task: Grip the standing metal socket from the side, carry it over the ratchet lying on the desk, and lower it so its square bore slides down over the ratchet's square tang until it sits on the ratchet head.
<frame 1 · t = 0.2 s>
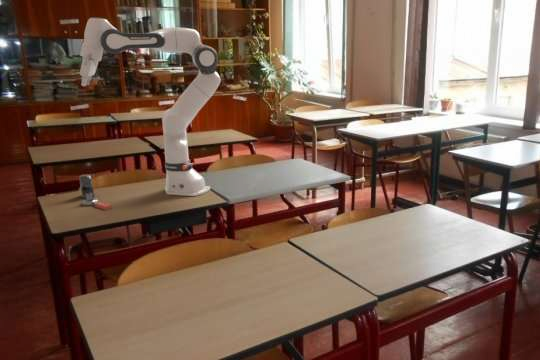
hand: (85, 85, 210), 52 cm above the table, tool tilted 20°, fingers open, 8 cm apart
ratchet: (90, 203, 214), on the table
socket: (87, 196, 225), on the table
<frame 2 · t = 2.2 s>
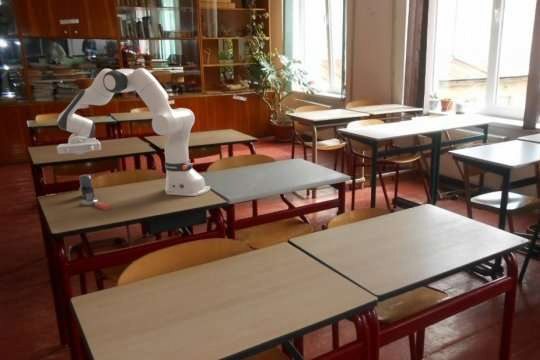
hand: (80, 150, 230), 20 cm above the table, tool horizontal, fingers open, 8 cm apart
nothing on the table moved.
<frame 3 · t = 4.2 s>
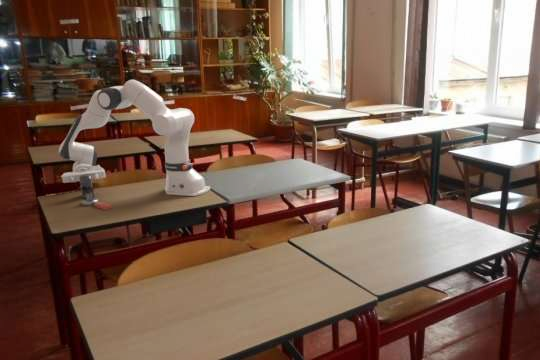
hand: (85, 179, 232), 6 cm above the table, tool horizontal, fingers open, 8 cm apart
nothing on the table moved.
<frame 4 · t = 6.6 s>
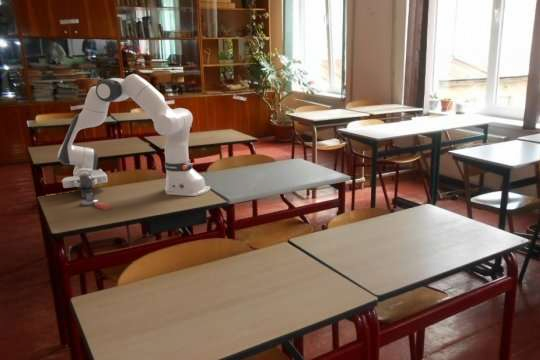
hand: (86, 184, 222), 6 cm above the table, tool horizontal, fingers closed on socket, 5 cm apart
socket: (87, 196, 225), on the table, touching gripper
everything else where it was.
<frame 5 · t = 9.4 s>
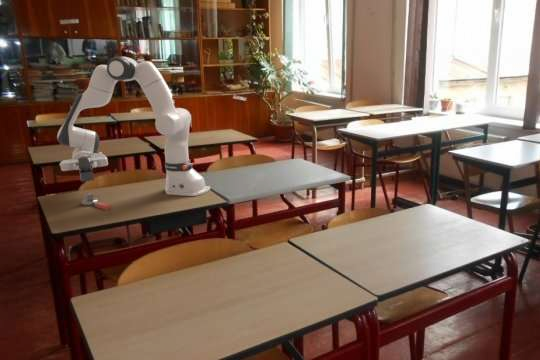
hand: (85, 167, 210), 17 cm above the table, tool horizontal, fingers closed on socket, 5 cm apart
socket: (87, 179, 213), point 11 cm above the table, touching gripper
everything else where it was.
when the fingers open (8 cm above the table, at t = 12.4 s): socket drops 1 cm, resting on ratchet.
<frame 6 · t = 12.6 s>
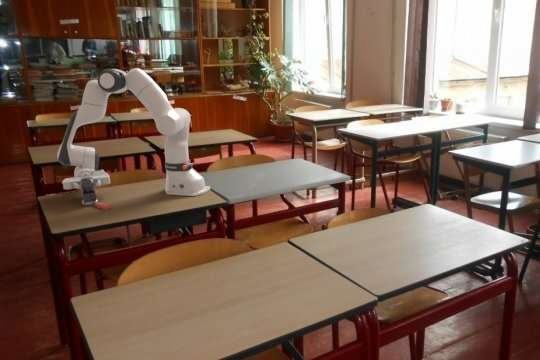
hand: (88, 185, 211), 8 cm above the table, tool horizontal, fingers open, 7 cm apart
ratchet: (90, 203, 214), on the table, touching socket
socket: (89, 200, 214), point 1 cm above the table, touching ratchet
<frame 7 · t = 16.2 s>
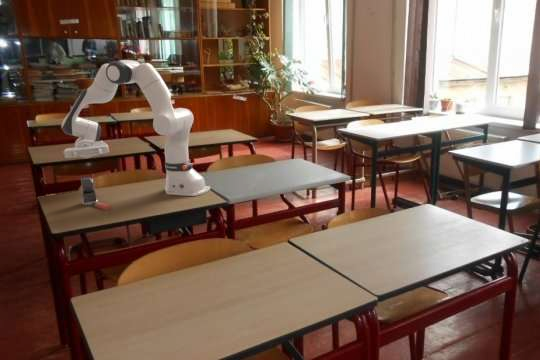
hand: (88, 153, 223), 20 cm above the table, tool horizontal, fingers open, 8 cm apart
nothing on the table moved.
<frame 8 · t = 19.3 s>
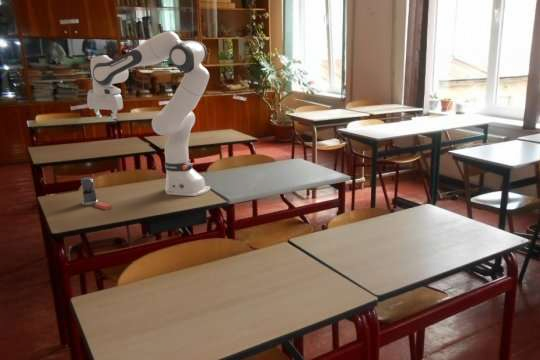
hand: (106, 118, 232), 34 cm above the table, tool pointing down, fingers open, 8 cm apart
nothing on the table moved.
at the end: socket 0.1 cm from the ratchet (horizontally); socket point 1.4 cm above the table; socket tilted 0° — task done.
